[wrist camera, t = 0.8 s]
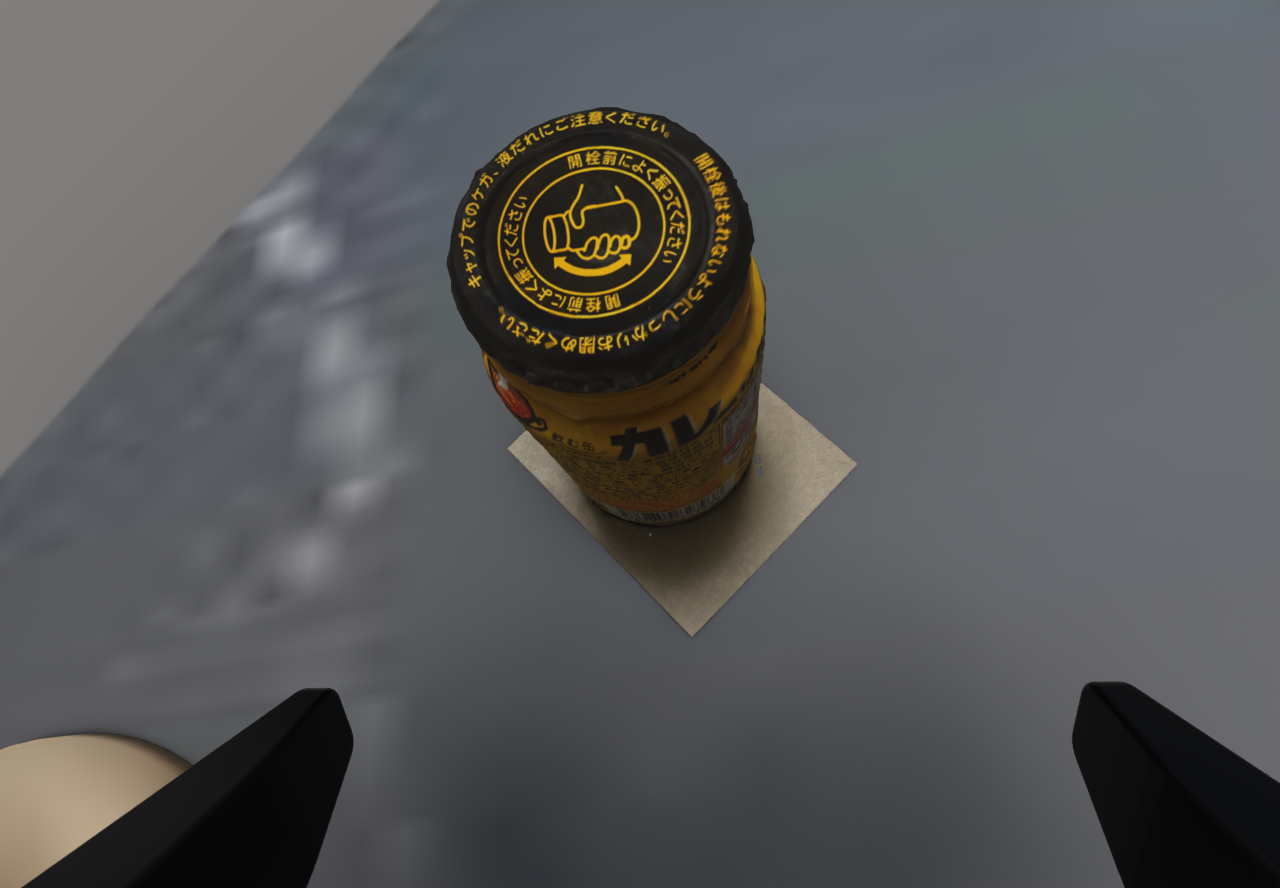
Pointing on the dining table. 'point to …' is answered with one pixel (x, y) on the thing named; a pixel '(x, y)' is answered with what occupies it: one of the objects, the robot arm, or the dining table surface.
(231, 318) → the dining table surface
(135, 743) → the beige round plate
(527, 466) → the condiment
